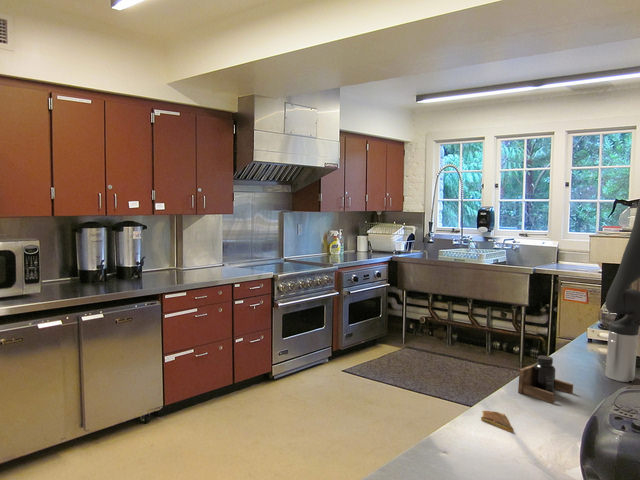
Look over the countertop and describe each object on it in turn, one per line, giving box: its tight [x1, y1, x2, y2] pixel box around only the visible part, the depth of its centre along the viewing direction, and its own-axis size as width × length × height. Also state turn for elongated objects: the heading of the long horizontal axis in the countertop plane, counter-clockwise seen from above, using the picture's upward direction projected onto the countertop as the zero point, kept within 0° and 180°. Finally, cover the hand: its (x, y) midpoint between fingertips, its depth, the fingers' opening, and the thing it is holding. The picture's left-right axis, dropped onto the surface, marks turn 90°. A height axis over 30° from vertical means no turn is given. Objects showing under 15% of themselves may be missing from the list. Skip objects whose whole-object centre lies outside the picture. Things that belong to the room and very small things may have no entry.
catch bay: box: [517, 362, 574, 404], centre depth 169 cm, size 16×11×8 cm
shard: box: [480, 410, 515, 433], centre depth 145 cm, size 11×8×2 cm
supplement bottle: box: [533, 355, 556, 394], centre depth 169 cm, size 7×7×12 cm
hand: (634, 324), depth 152 cm, fingers closed
